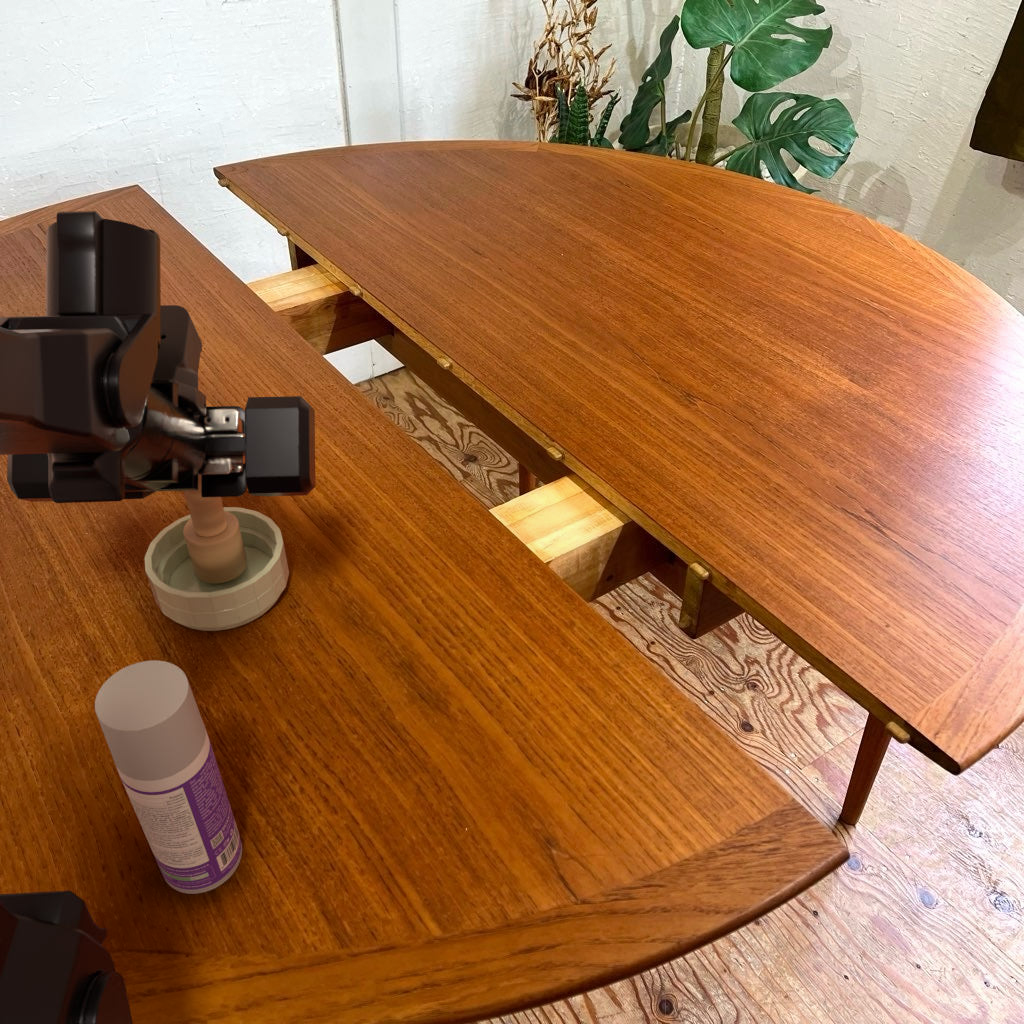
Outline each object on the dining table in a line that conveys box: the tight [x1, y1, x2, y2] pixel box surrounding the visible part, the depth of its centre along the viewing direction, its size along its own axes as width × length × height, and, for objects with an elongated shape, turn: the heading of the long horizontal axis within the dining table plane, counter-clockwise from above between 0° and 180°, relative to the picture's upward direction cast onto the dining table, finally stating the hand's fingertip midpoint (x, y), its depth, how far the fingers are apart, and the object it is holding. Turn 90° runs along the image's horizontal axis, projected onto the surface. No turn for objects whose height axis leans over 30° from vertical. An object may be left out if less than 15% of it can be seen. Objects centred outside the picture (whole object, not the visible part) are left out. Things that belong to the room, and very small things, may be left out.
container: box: [94, 659, 243, 895], centre depth 52 cm, size 5×5×15 cm
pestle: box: [183, 475, 247, 583], centre depth 68 cm, size 4×4×19 cm
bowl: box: [144, 506, 290, 632], centre depth 73 cm, size 10×10×4 cm
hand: (202, 467), depth 70 cm, fingers closed on pestle, 2 cm apart
